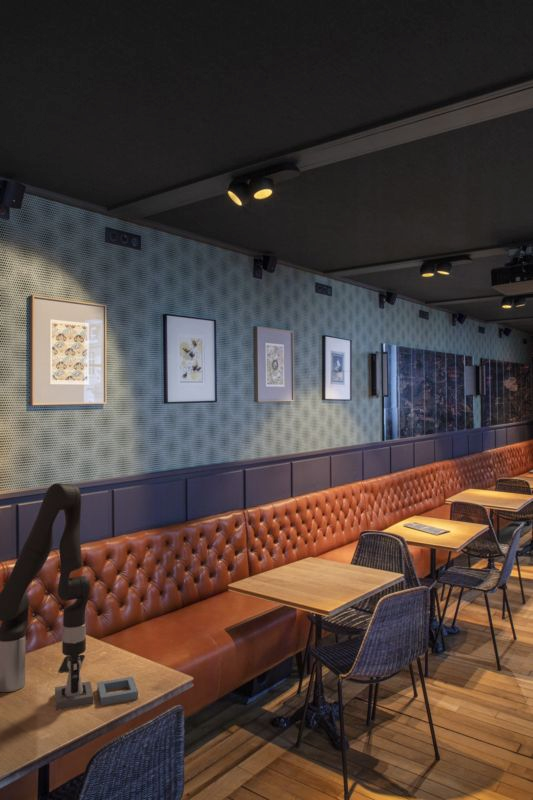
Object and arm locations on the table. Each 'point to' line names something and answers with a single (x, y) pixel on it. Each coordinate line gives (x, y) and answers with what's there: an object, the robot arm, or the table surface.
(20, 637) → the robot arm
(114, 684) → the collar
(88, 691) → the collar
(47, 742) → the table surface
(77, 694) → the salt shaker
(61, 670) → the smartphone
